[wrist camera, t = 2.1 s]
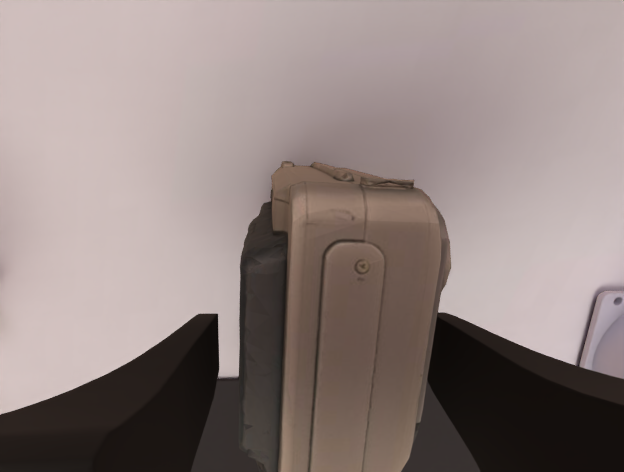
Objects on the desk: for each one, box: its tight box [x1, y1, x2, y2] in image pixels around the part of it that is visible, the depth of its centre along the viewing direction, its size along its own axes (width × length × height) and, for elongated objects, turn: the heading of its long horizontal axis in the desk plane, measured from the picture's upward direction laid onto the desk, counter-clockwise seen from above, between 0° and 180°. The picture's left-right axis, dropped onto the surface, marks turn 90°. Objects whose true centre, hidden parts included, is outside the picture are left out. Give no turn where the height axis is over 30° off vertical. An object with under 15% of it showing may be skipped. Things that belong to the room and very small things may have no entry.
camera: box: [239, 161, 451, 472], centre depth 14 cm, size 11×6×10 cm, turn 175°
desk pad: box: [191, 379, 481, 472], centre depth 22 cm, size 20×11×1 cm, turn 88°
